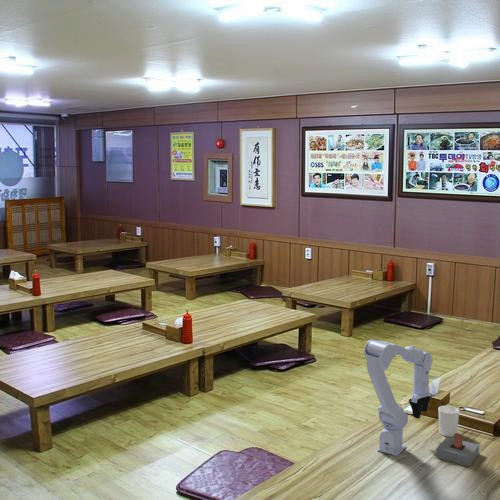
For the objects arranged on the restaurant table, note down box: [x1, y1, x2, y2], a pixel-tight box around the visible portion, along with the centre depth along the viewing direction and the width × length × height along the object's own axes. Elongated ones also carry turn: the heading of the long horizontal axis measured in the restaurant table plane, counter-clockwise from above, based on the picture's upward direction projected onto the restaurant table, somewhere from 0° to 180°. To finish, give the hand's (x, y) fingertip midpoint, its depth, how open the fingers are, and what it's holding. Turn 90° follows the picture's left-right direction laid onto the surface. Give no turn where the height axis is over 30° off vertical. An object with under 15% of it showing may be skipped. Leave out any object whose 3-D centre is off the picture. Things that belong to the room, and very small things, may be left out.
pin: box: [453, 432, 463, 450], centre depth 223 cm, size 3×3×8 cm
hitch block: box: [435, 436, 480, 467], centre depth 223 cm, size 12×12×4 cm
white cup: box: [437, 405, 460, 438], centre depth 241 cm, size 8×8×10 cm
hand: (420, 414), depth 237 cm, fingers open, 7 cm apart
